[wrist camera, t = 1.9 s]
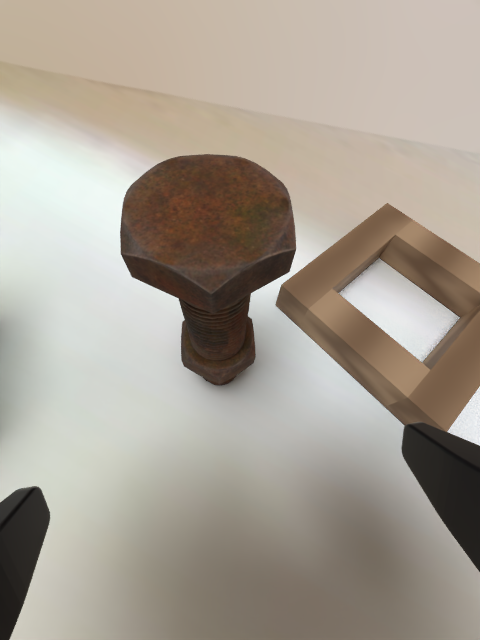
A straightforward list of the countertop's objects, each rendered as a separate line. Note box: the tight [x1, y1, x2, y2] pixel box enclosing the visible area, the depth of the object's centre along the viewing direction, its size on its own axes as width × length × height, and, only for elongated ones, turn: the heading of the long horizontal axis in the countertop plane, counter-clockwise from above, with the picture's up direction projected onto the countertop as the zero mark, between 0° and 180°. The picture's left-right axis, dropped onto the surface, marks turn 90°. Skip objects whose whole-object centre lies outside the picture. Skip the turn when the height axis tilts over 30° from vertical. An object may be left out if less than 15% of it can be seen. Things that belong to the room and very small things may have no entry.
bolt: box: [120, 154, 296, 385], centre depth 15 cm, size 6×5×15 cm
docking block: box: [276, 203, 480, 432], centre depth 23 cm, size 14×14×3 cm
